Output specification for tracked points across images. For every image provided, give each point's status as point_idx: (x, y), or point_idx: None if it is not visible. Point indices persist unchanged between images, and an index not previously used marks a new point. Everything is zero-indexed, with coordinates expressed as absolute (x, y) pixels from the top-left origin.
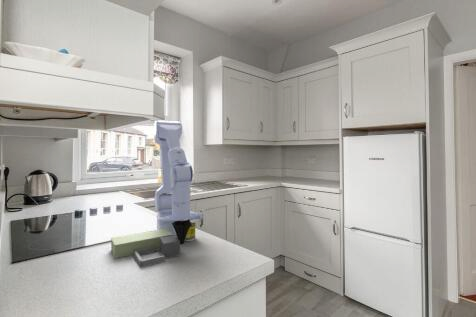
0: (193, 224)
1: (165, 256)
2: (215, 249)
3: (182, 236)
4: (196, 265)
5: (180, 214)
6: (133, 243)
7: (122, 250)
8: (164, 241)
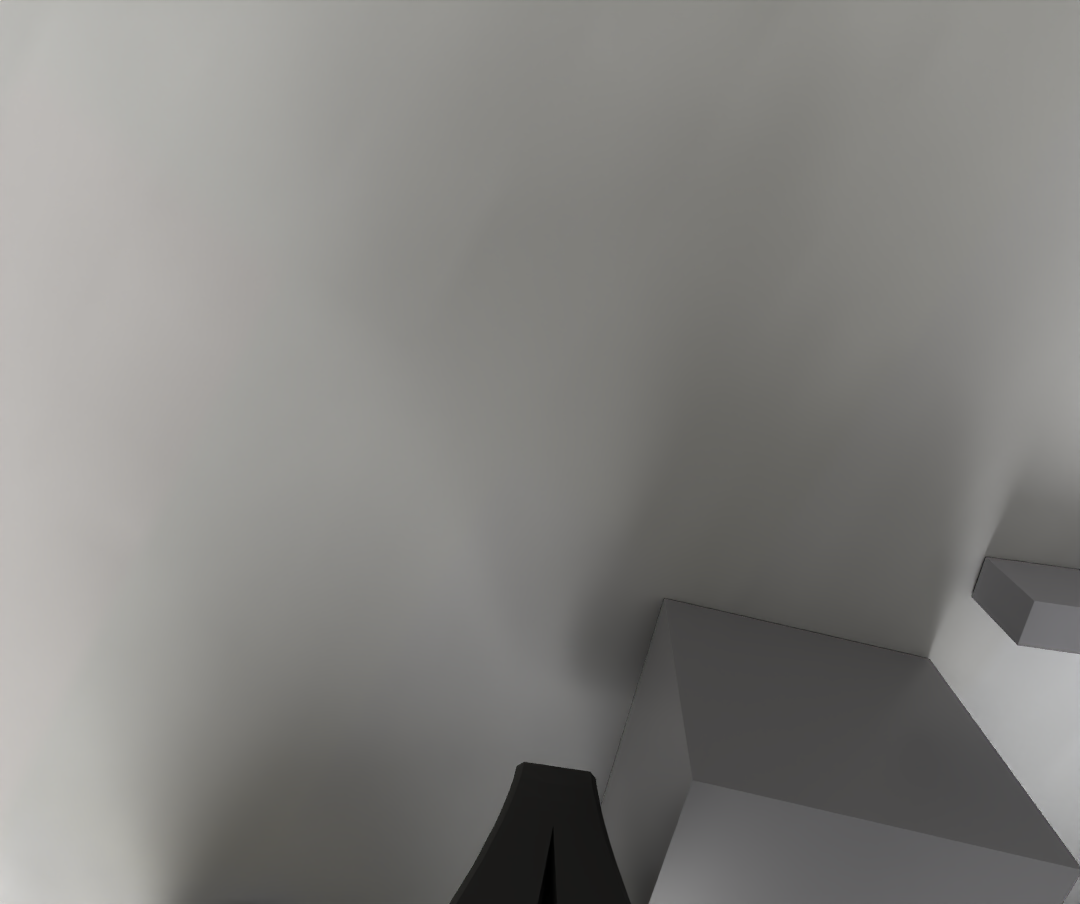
0: None
1: (909, 666)
2: (54, 413)
3: (566, 896)
4: (674, 24)
5: None
6: None
7: None
8: None
